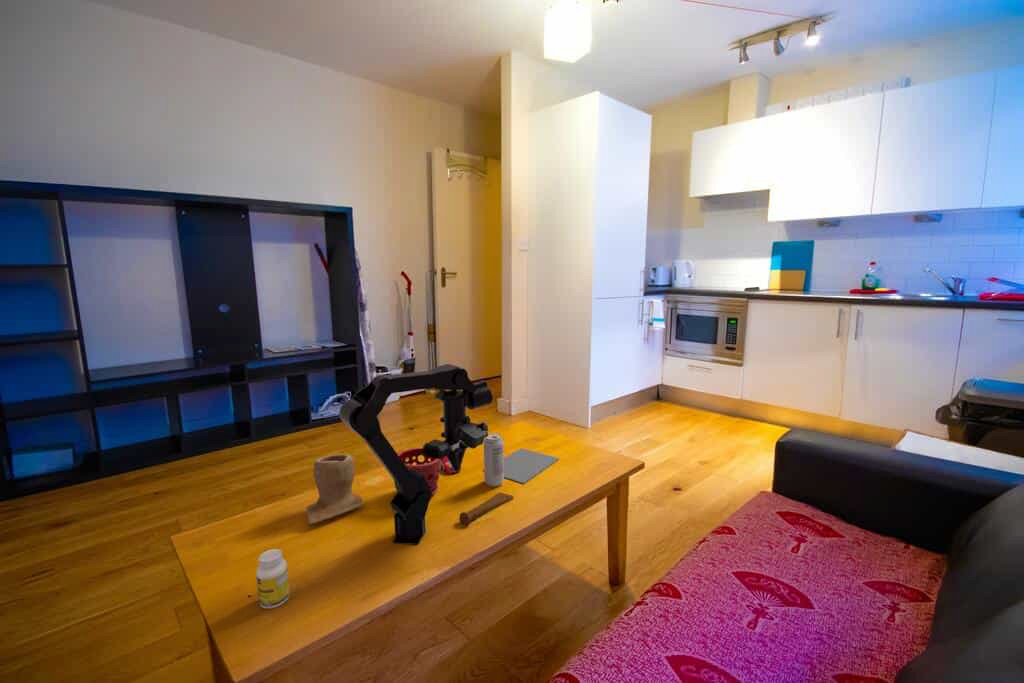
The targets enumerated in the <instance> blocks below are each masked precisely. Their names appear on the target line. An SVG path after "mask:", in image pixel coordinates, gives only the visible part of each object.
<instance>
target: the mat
mask: <svg viewBox="0 0 1024 683" xmlns="http://www.w3.org/2000/svg"><path fill="white" fill-rule="evenodd" d="M559 460H560V458H559V457H556V456H552V455H549V454H545V453H541V452H537V451H533V450H531V449H527V448H522V447H521V448H519V449H517V450H515V451H514V452H512V453H511V454H509V455H507V456H504V479H507V480H510V481H513V482H516V483H519V484H523V485H525V484H527V483H528V482H529V481H531V480H532V479H534V478H535V477H536V476H538V475H539V474H541V473H542V472H544V471H545V470H546V469H548V468H549V467H551V466H552V465H553V464H555V463H557V462H558V461H559ZM482 471H483V472H484V469H482Z"/></svg>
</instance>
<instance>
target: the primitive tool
mask: <svg viewBox="0 0 1024 683" xmlns="http://www.w3.org/2000/svg"><path fill="white" fill-rule="evenodd" d="M513 498H514V499H515V496H513V495H512V494H507V493H503V492H498V493H496V494H495V495H493V496H492V497H490V498H489V499H487V500H486V501H484V502H483V503H480V504H479V505H478V506H476V507H473V508H472V509H470V510H468V511H466V512H465V511H464V512H460V514H459V523H460V524H461V525H462V526H469V525H470V524H471V522H472V521H473V520H475V519H478V518H479V517H482V515H485V514H487V513H488V512H491V511H492V510H494V509H496V508H499V507H500V506H502V505H504V504H506V503H510V502H511V501H513V500H514V499H513ZM509 501H510V502H509Z"/></svg>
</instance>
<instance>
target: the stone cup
mask: <svg viewBox="0 0 1024 683" xmlns="http://www.w3.org/2000/svg"><path fill="white" fill-rule="evenodd" d="M313 465H314V466H313V477H314V481H315V484H316V488H317V491H318V499H317V501H316V502H315V503H312V504H309V505H307V506H306V507H305V508H306V509H305V510H306V516H307V521H308V523H309V524H310V525H313V524H316V523H318V522H319V523H320V522H322V521H326V520H329V519H332V518H334V517H337V516H339V515H340V516H341V515H342V514H345V513H348V512H350V511H353V510H354V509H357V508H359V507H361V506H362V505H363V504H364V500H363V497H361V496H360V495H357V494H356V493H352V492H353V491H352V490H353V489H352V486H353V482H354V477H355V461H354V458H353V457H352V455H349V454H343V453H342V454H341V453H340V454H339V453H338V454H332V455H331V454H329V455H327V456H323V457H320V458H318V459H316V460H315V462H314V464H313Z"/></svg>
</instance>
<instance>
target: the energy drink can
mask: <svg viewBox="0 0 1024 683" xmlns="http://www.w3.org/2000/svg"><path fill="white" fill-rule="evenodd" d="M504 451H505V450H504V440H503V439H502V435H501V434H499V433H489V434H488V436H487V437H485V438H484V441H483V468H484V469H483V470H484V471H483V472H484V474H483V475H484V482H485V484H486V485H487V486H488V487H491V488H495V487H496V486H497V487H500V486H501V485H503V482H504V481H505V478H504V458H505V456H504Z"/></svg>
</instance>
